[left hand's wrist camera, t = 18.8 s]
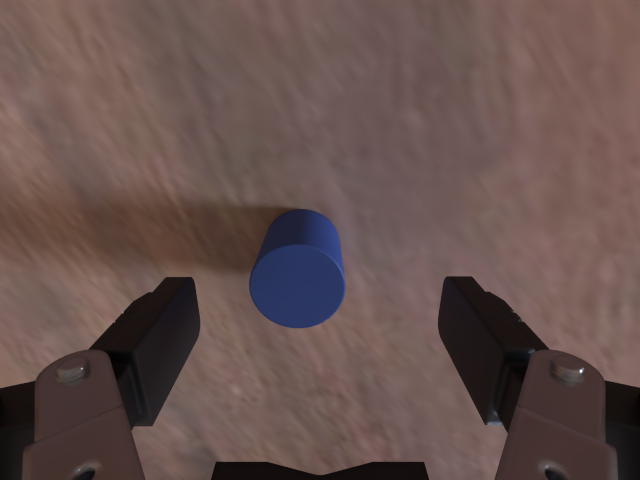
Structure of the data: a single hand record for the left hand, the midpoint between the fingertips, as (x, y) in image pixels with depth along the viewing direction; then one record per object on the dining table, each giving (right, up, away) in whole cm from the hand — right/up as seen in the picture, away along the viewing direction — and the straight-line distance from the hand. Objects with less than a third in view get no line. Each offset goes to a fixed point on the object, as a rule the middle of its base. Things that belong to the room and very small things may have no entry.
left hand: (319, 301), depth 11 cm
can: (-1, +2, +6) cm, 6 cm away
